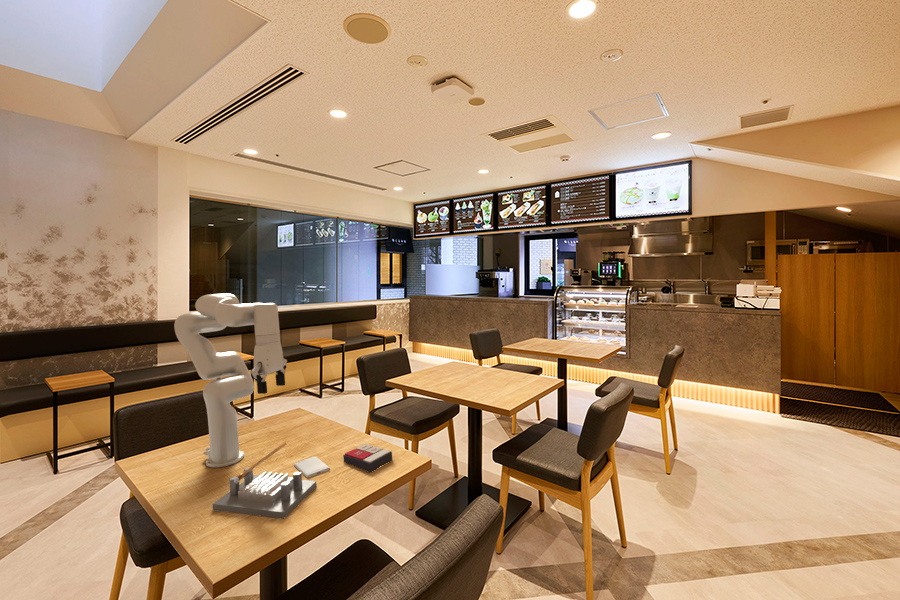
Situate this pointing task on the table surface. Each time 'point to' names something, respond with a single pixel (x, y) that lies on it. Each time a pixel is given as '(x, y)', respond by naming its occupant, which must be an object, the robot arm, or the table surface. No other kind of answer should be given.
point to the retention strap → (259, 462)
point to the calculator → (368, 457)
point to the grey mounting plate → (264, 508)
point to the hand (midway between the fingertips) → (272, 389)
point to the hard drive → (311, 467)
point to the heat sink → (266, 487)
